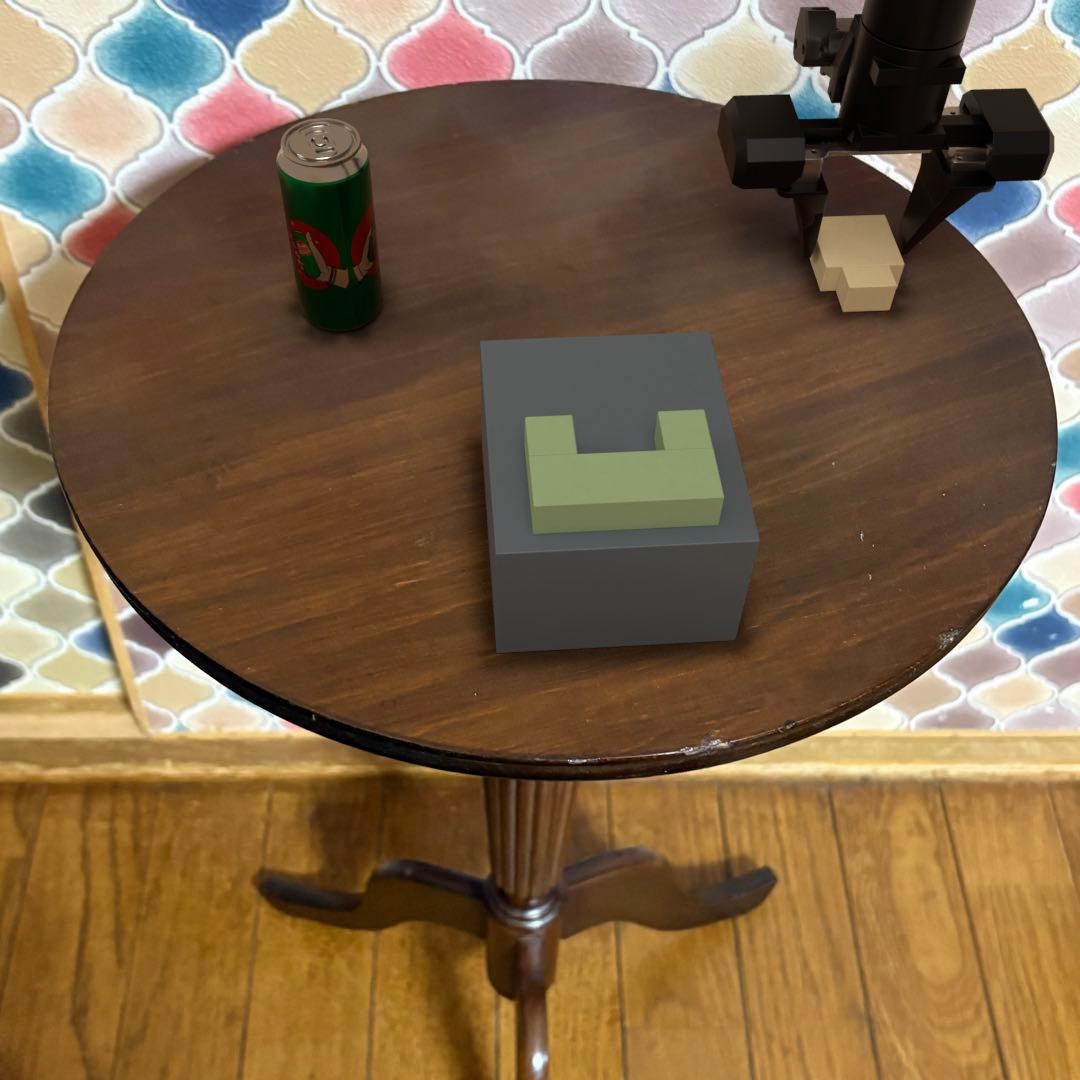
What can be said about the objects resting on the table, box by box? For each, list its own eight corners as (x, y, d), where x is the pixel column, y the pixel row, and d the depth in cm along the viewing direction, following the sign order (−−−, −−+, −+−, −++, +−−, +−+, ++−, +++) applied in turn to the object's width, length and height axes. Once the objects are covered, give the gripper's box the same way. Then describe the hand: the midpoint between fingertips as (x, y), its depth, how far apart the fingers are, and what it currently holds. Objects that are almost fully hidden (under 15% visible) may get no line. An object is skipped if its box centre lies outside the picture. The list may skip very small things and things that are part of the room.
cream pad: (878, 239, 84) (885, 214, 83) (905, 310, 80) (913, 285, 79) (803, 241, 84) (809, 216, 83) (827, 313, 80) (833, 288, 78)
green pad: (699, 437, 62) (704, 408, 60) (718, 525, 58) (724, 497, 57) (524, 445, 61) (524, 416, 60) (532, 534, 58) (533, 506, 56)
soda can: (368, 274, 81) (350, 105, 72) (394, 324, 78) (380, 155, 69) (290, 294, 80) (262, 124, 70) (314, 345, 77) (288, 176, 68)
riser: (692, 436, 73) (710, 331, 67) (735, 640, 64) (760, 540, 58) (481, 446, 72) (479, 339, 66) (496, 653, 63) (495, 554, 57)
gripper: (1033, -53, 75) (959, 172, 88) (719, -47, 74) (689, 180, 86) (1099, 49, 68) (1009, 279, 81) (755, 57, 67) (716, 289, 79)
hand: (853, 252), depth 82 cm, fingers open, 6 cm apart
